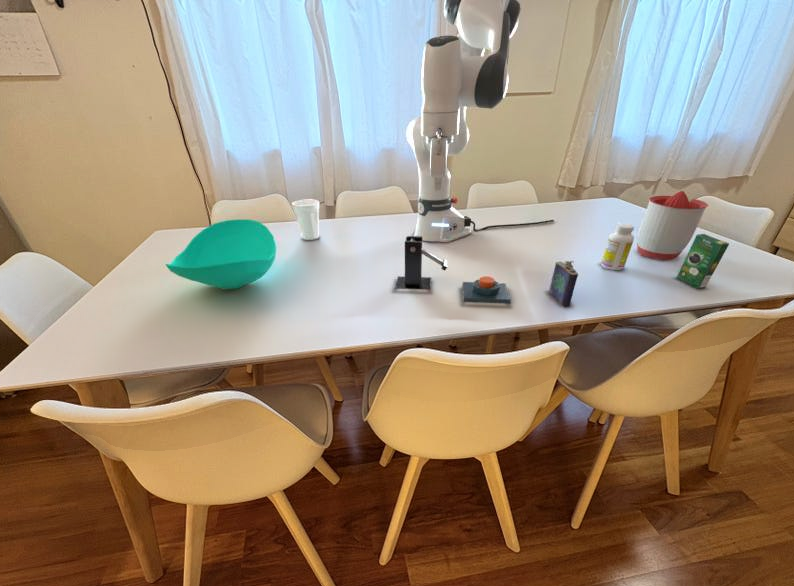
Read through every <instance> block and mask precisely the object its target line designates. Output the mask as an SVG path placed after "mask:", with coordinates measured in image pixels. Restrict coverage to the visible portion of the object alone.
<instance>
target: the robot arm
mask: <svg viewBox="0 0 794 586" xmlns="http://www.w3.org/2000/svg"><path fill="white" fill-rule="evenodd" d="M443 13H444V14H443V15H444V19H445V20H446V21H447V22H449V23H450V24H451V25H452V26H454V25H455V26H456V27H457V31H458V33H457V35H440V36H435V37H432V38H429V39H428V40H427V41H426V42H425V45H424V49H423V55H422V63H421V64H422V65H421V67H422V68H421V92H422V106H421V111H420V113H421V115H420V116H417V117H415V118H413V119H412V120H411V121H410V122H409V123H408V126H407V128H406V140H407V143H408V144H409V146H410V147H411V149H412V151H413V153H414V157H415V161H416V166H417V170H418V197H417V221H416V226H415V230H414V234H413V236H422V241H425V242H437V243H438V242H439V243H441V242H442V243H449V242H452V241H455V240H458V239H460V238H463V237H465V236H468V235H470V234H471V229H470V228H468V227H471V226H472V225H473V226H472V230H473V231H474V232H478V231H484V230H486V229H491V228H504V227H505V228H506V227H521V226H531V225H539V224H547V223H552V222H554V221H555V220H554V219H549V220H542V221H534V222H525V223H510V224H509V223H508V224H495V225H488V226H485V227H482V228H480V229H477V228H476V223H475V222H474V221H473V220H472V218H470V217H469V216H467V215H463V214H461V212H459V211H458V210H457V209H456V208H454V207H453V204H458V202H459V198H457V197H455V196H453V197H451V196H450V190H451V172H450V170H449V168H448V167H447V158H448V157H452V156H458V155H460V154H462V153H463V152H464V151H465V150H466V148H467V146H468V143H469V139H470V130H469V127H468V125H467V122H466V111H467V108H480V109H488V110H489V109H491V110H492V109H495V108H496V106H498V105H499V104H500V103H501V102H502V101H503V100H504V98H505V96H506V93H507V91H508V85H509V67H508V64H509V54H510V41H511V40H510V39H511V38H512V37H513V35H514V34H515V32H516V30H517V28H518V26H519V22H520V17H521V16H520V15H521V14H520V13H521V4H520V2H519V1H518V0H444V1H443ZM485 50H489V51H490V52H491V53H489V54H485V55H484V53H485ZM471 224H472V225H471Z"/></svg>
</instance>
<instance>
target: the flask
mask: <svg viewBox="0 0 794 586" xmlns="http://www.w3.org/2000/svg"><path fill="white" fill-rule="evenodd" d="M572 263H575V261H574V260H565V261H564V262H563V261H556V262H555V263H554V264H555V265H554V269H553V273H552V277H551V281H550V285H549V290H548V295H549V296H551V297H553V299H554V300H556V301H557V303H559V305H561V306H562V307H564V308H569V307H570V306H571V303H572V298H573V296H574V290H575V287H576V283H577V280H578V277H579V273H578V272H577V270H576V269H575V268H574V265H572Z"/></svg>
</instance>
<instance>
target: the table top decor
mask: <svg viewBox="0 0 794 586" xmlns="http://www.w3.org/2000/svg"><path fill="white" fill-rule="evenodd" d="M276 255H277V245H276V239H275V237H274V235H273V233H272V231H270V229H269V228H268V227H267V226H265V225H264V224H263V223H262V222H260V221H258V220H253V219H247V218H246V219H244V218H243V219H241V218H240V219H239V218H238V219H228V220H223V221H220V222H215V223H213V224H211V225H209V226H207V227H205V228H204V229H202V230H201V231H200V232H199V233H197V234H196V235H195V236H194V237H192V239H191V240H190V242H189V243H188V244H187V245H186V247H185V248H184V250H182V251H181V252H180V253H179V254H177V255H176V256H175V257H174V259H173V260H172V261H171V262H170V263H165V266H166V268H167V269H169V271H170V272H171V273H173V274H175V275H176V276H178V277H181V278H183V279H187V280H189V281H193V282H197V283H200V284H203V285H207V286H210V287H213V288H218V289H222V290H237V289H239V288H241V287H243V286H245V285H247V284H251V283H254V282H255V281H257V280H259V279H261V278H263V276H265V274H266V273H268V271H269V270H270V269H271V267H272V266H273V263H274V262H275V260H276Z"/></svg>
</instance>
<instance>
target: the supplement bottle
mask: <svg viewBox="0 0 794 586" xmlns="http://www.w3.org/2000/svg"><path fill="white" fill-rule="evenodd" d="M634 229H635V226H634V225H633V224H630V223H625V222H624V223H623V222H621V223H617V224H616V226H615V231H614V232H612V233H610V235H609V237H608V240H607V243H606V246H605V250H604V253H603V256H602V259H601V263H600V264H601V267H603V268H604V269H605V270H611V271H621V270H623V269H624V268H625V266H626V263H627V260H628V257H629V254H630V252H631V250H632V246H633V243H634V240H635V236H634V235H633V234H632V233H633V231H634Z"/></svg>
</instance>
